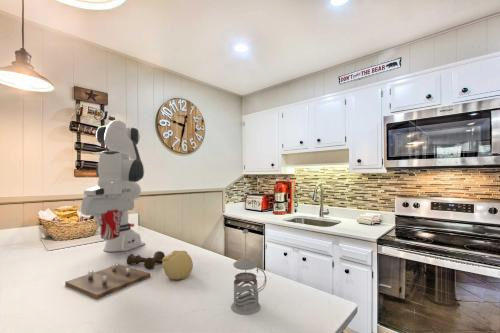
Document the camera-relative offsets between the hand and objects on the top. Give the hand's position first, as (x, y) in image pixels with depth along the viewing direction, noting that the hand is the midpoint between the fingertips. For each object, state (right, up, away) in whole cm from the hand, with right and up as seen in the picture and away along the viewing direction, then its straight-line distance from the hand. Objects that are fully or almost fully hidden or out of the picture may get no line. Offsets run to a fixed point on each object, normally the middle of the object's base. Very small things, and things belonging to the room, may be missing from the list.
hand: (109, 223), depth 103 cm
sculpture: (+27, -23, +3) cm, 36 cm away
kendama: (+9, -24, +17) cm, 31 cm away
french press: (+57, -22, -21) cm, 65 cm away
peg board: (0, -23, -1) cm, 23 cm away
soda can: (0, -6, 0) cm, 6 cm away
